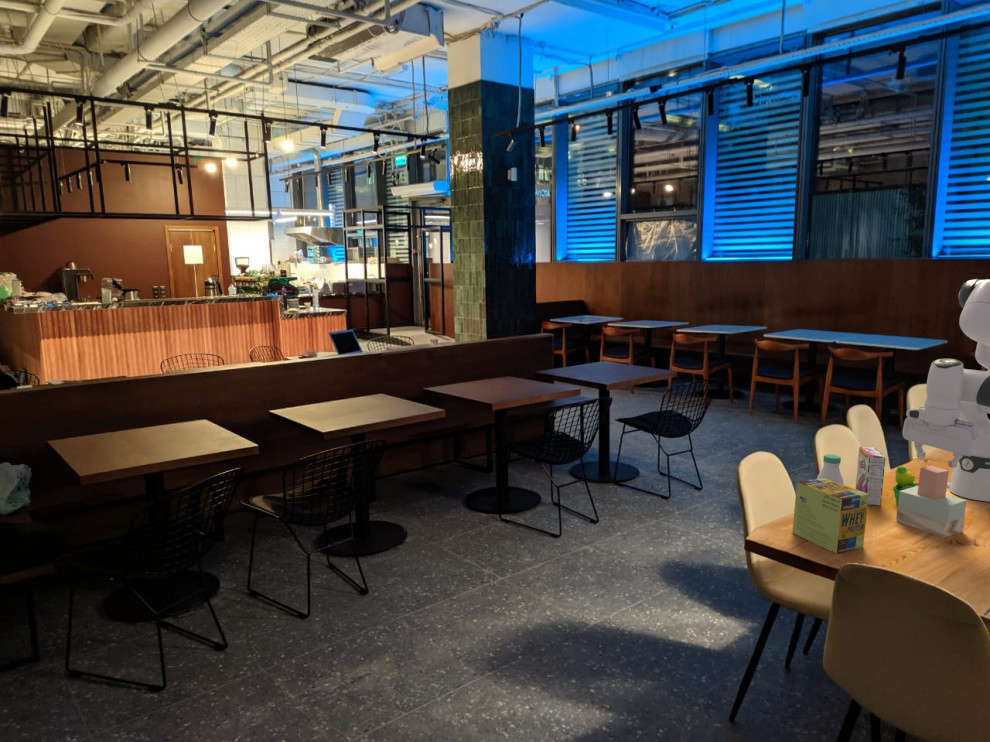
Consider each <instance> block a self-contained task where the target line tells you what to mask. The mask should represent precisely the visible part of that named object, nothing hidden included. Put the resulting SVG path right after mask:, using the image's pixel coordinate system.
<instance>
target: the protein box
mask: <svg viewBox="0 0 990 742" xmlns="http://www.w3.org/2000/svg"><path fill="white" fill-rule="evenodd" d="M868 495H869V494H868V493H865V492H862V491H859V490H856V488H853V487H850V486H847V485H845V484H844V485H842V484H839V483H836V482H833V481H831V480H828V479H825V478H821V479H817V478H816V479H807V480H803V481H797V482H796V488H795V500H794V501H795V502H794V508H793V509H794V510H793V522H792V530H791V531H792V534H794V535H796V536H799V537H800V538H803V539H805V540H806V541H809V542H811V543H813V544H815V545H817V546H820V547H821V548H823V547H824V549H825V548H826V549H825V550H828V551H830V552H832V551H833V552H832V553H834V552H835V553H834V554H840V552H841V553H844V552H849V551H853V550H854V551H855V550H858V549H863V548H864V544H865V533H866V523H867V515H868V514H867V512H868V506H869V505H868Z"/></svg>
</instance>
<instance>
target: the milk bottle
mask: <svg viewBox="0 0 990 742" xmlns="http://www.w3.org/2000/svg"><path fill="white" fill-rule="evenodd" d="M841 460H842V457H841V456H839V455H836V454H832V453H831V454H824V455H823V462H822V463H823V467H822V469H821V471H820V472H819V473H818V475H817V477H816V479H821V478H825V479H828V480H831V481H833V482H836V483H839V484H842V485H845V483H844V478H843V476H842V473H841V470H840V465H841Z"/></svg>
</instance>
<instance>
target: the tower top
mask: <svg viewBox="0 0 990 742" xmlns="http://www.w3.org/2000/svg"><path fill="white" fill-rule="evenodd" d="M917 493H918V486H915V487H911V488H908V489H905V490H901V491H900V492H899V501H898V503H897V507H899V508H903V509H906V510H909V511H912V512H915V513H918V514H922V515H925V516H928V517H931V518H934V519H937V520H941V521H944V522H947V523H948V522H951V521H954V520H957V519H959V518H962V517H964V518H965V516H966V515H965V514H966V513H965V512H966V507H967V499H963V498H960V497H957V496H953V495H949V494H946V497H943V498H939V499H931V498H928V497H925V496H922V495H920V494H917Z"/></svg>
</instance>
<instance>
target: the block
mask: <svg viewBox="0 0 990 742" xmlns="http://www.w3.org/2000/svg"><path fill="white" fill-rule="evenodd" d="M919 470H920V471H919V478H918V479H919V480H918V483H919V485H918V493H917V494H920V495H922V496H925V497H928V498H931V499H939V498H943V497H946V495H947V488H948V487H947V483H948V481H949V470H947V469H944V468H941V467H938V466H934V465H929V466H923V467H920V469H919Z"/></svg>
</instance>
